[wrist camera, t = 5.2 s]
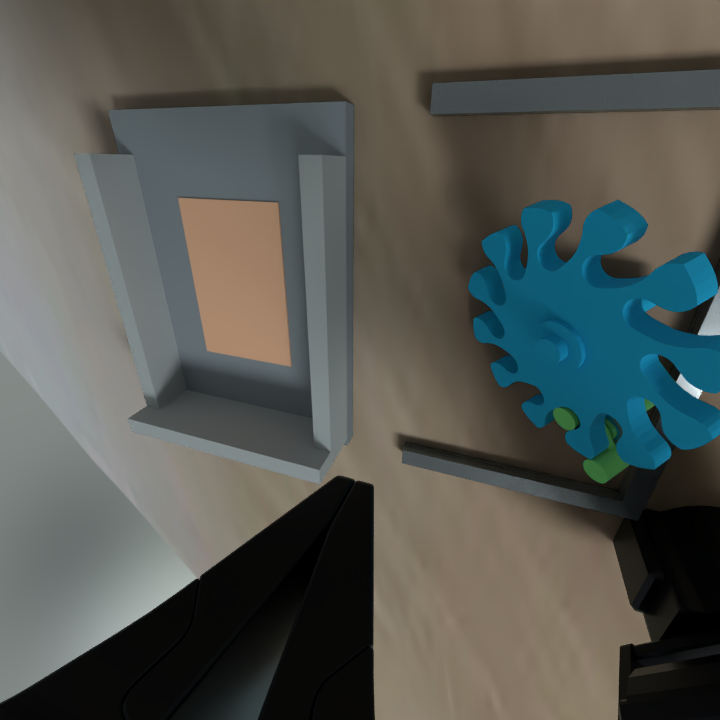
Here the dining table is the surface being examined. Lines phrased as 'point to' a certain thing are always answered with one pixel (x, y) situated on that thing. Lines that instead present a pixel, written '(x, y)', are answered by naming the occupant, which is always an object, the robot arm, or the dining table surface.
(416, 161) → the dining table surface
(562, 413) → the gear
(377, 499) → the dining table surface
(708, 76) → the frame
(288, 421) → the grey open tray
